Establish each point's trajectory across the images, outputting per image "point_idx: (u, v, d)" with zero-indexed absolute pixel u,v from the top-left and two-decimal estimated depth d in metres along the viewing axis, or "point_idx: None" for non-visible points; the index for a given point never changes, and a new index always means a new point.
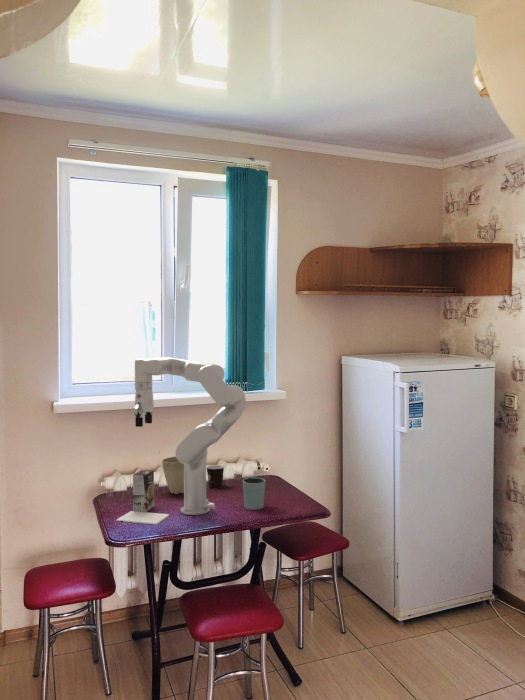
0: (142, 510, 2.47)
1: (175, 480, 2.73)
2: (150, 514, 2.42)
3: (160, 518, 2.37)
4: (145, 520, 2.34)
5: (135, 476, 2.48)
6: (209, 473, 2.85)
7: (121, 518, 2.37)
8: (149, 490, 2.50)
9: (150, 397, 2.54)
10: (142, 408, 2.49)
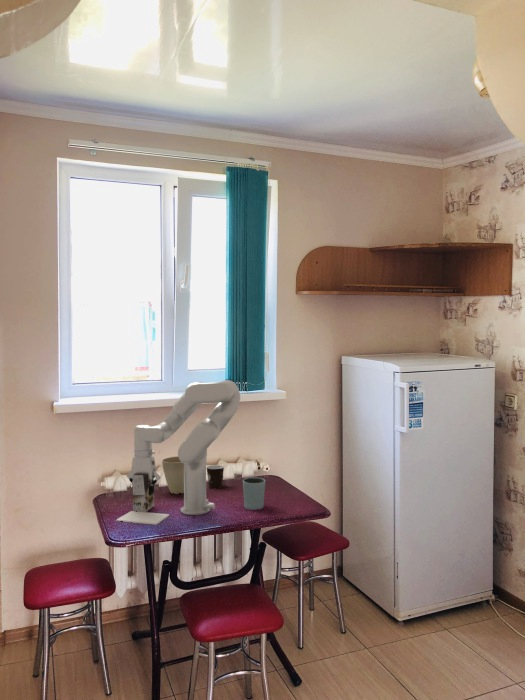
0: (142, 510, 2.47)
1: (175, 480, 2.73)
2: (150, 514, 2.42)
3: (160, 518, 2.37)
4: (145, 520, 2.34)
5: (135, 476, 2.48)
6: (209, 473, 2.85)
7: (121, 518, 2.37)
8: None
9: None
10: None
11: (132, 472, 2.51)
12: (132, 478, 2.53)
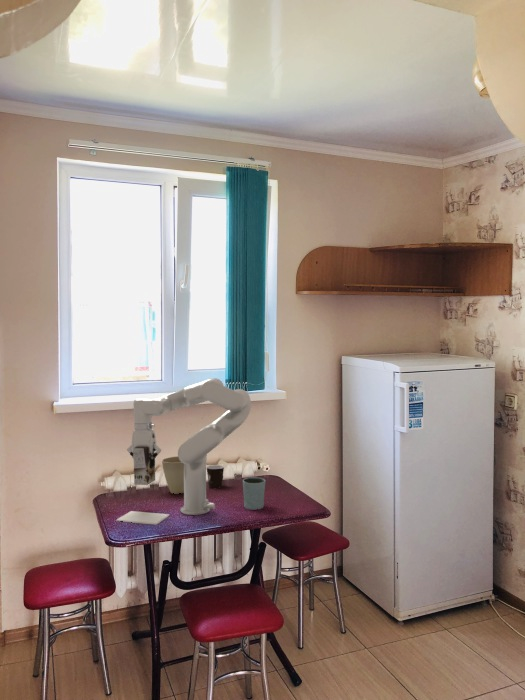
0: (143, 483, 2.47)
1: (175, 480, 2.73)
2: (150, 514, 2.42)
3: (160, 518, 2.37)
4: (145, 520, 2.34)
5: (135, 449, 2.47)
6: (209, 473, 2.85)
7: (121, 518, 2.37)
8: (149, 463, 2.49)
9: None
10: None
11: (132, 446, 2.50)
12: None
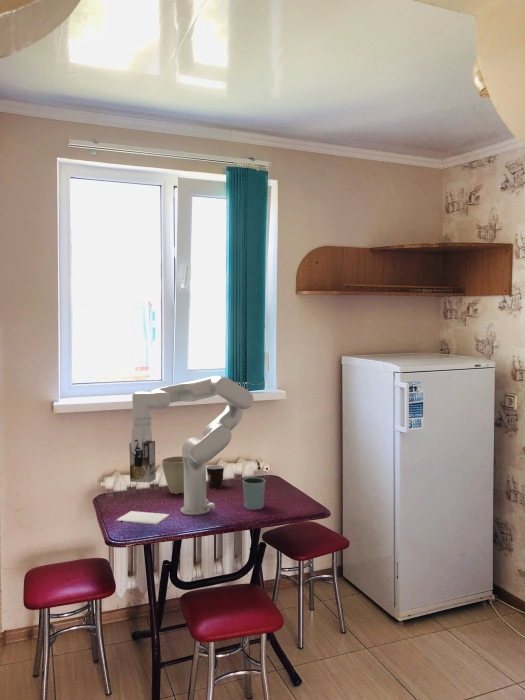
0: (154, 478, 2.39)
1: (175, 480, 2.73)
2: (150, 514, 2.42)
3: (160, 518, 2.37)
4: (145, 520, 2.34)
5: (150, 444, 2.36)
6: (209, 473, 2.85)
7: (121, 518, 2.37)
8: None
9: None
10: None
11: (142, 443, 2.34)
12: None
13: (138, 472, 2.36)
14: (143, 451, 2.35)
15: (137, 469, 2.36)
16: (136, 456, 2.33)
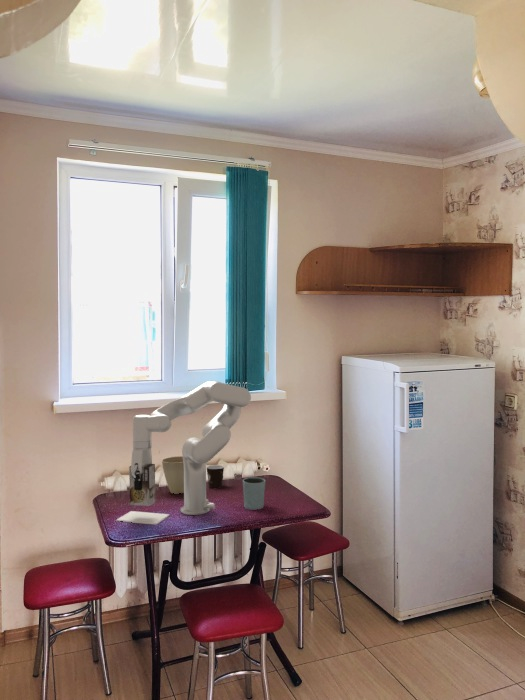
0: (154, 501, 2.39)
1: (175, 480, 2.73)
2: (150, 514, 2.42)
3: (160, 518, 2.37)
4: (145, 520, 2.34)
5: (150, 468, 2.36)
6: (209, 473, 2.85)
7: (121, 518, 2.37)
8: None
9: None
10: None
11: (142, 466, 2.34)
12: None
13: (138, 496, 2.36)
14: (143, 474, 2.35)
15: (137, 492, 2.36)
16: (136, 479, 2.33)
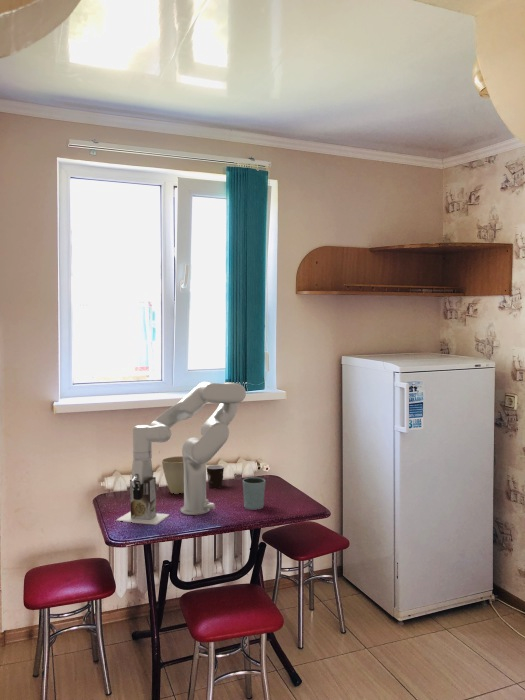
0: (155, 514, 2.39)
1: (175, 480, 2.73)
2: None
3: (160, 518, 2.37)
4: (145, 520, 2.34)
5: (151, 481, 2.36)
6: (209, 473, 2.85)
7: (121, 518, 2.37)
8: None
9: None
10: None
11: (142, 477, 2.34)
12: None
13: (139, 509, 2.36)
14: (144, 488, 2.35)
15: (138, 506, 2.36)
16: (135, 488, 2.32)
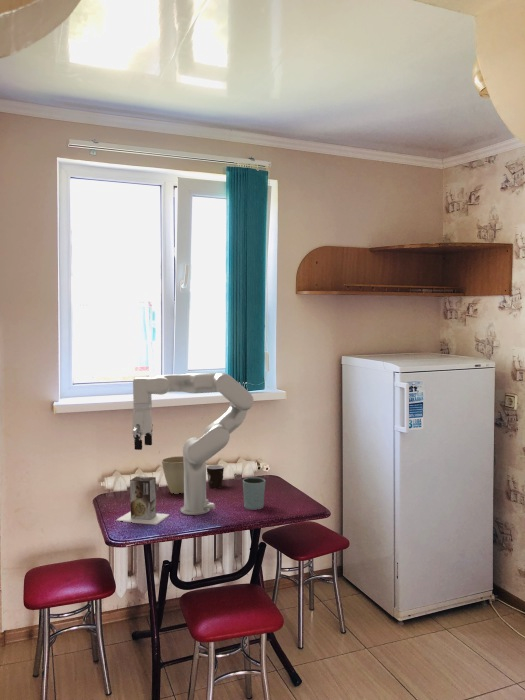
0: (155, 514, 2.39)
1: (175, 480, 2.73)
2: None
3: (160, 518, 2.37)
4: (145, 520, 2.34)
5: (151, 481, 2.36)
6: (209, 473, 2.85)
7: (121, 518, 2.37)
8: None
9: None
10: None
11: (143, 427, 2.37)
12: None
13: (139, 509, 2.36)
14: (144, 488, 2.35)
15: (138, 506, 2.36)
16: (136, 439, 2.36)
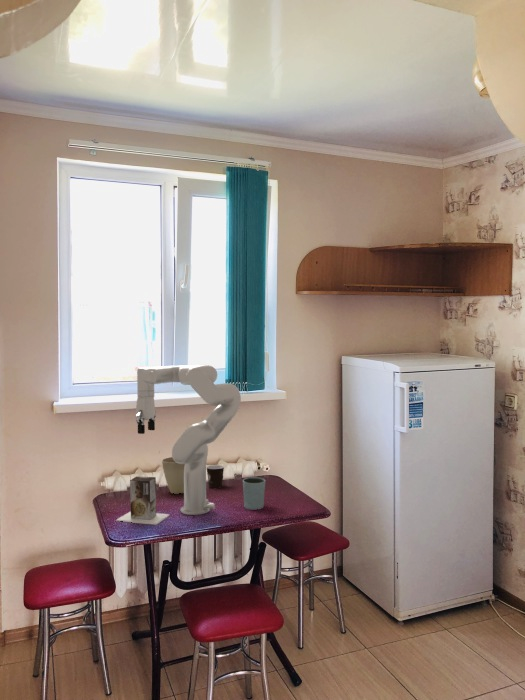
0: (155, 514, 2.39)
1: (175, 480, 2.73)
2: None
3: (160, 518, 2.37)
4: (145, 520, 2.34)
5: (151, 481, 2.36)
6: (209, 473, 2.85)
7: (121, 518, 2.37)
8: None
9: None
10: None
11: (145, 413, 2.56)
12: None
13: (139, 509, 2.36)
14: (144, 488, 2.35)
15: (138, 506, 2.36)
16: (139, 423, 2.55)
